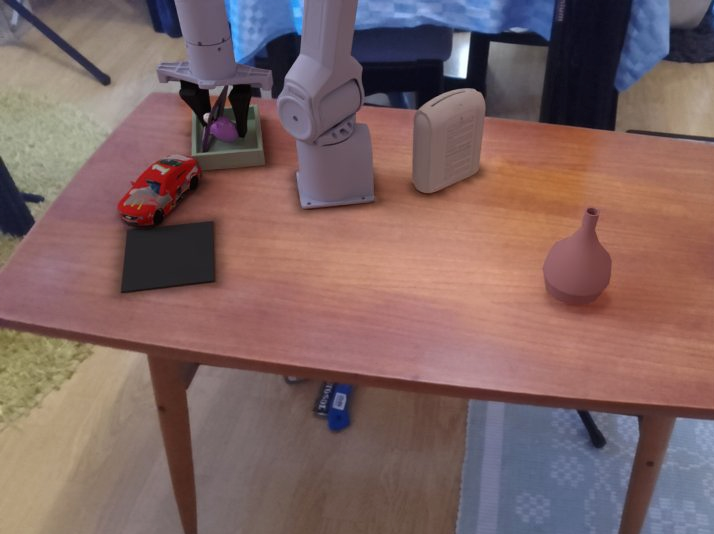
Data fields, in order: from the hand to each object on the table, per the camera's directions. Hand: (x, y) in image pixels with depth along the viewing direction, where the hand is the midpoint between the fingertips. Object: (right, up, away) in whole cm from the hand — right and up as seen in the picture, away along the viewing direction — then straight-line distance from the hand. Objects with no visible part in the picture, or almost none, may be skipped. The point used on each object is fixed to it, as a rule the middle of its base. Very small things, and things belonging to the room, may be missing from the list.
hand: (227, 132), depth 95 cm
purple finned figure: (0, -1, +1) cm, 2 cm away
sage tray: (0, -1, +1) cm, 2 cm away
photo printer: (+31, -7, -1) cm, 31 cm away
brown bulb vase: (+45, -24, -15) cm, 53 cm away
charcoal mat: (-2, -19, -15) cm, 24 cm away
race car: (-6, -11, -8) cm, 15 cm away
